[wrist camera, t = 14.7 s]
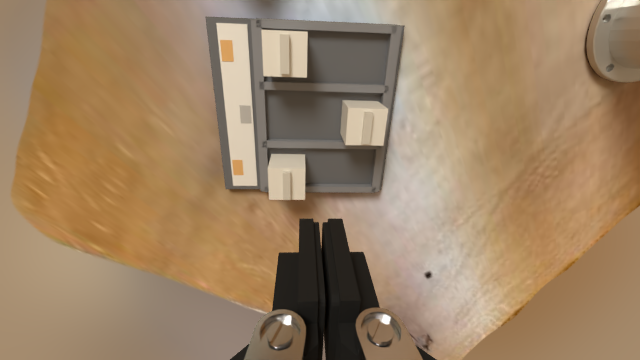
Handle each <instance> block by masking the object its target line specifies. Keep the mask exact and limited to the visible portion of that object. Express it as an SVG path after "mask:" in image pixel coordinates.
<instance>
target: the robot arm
mask: <svg viewBox="0 0 640 360" xmlns="http://www.w3.org/2000/svg"><path fill="white" fill-rule="evenodd" d="M586 47H587V57H588V60H589V63H590V65H591V67H592V68H593V70H594V71H595V72H596V73H597V74H598V75H599V76H600V77H602V78H604V79H606V80H609V81H615V82H624V83H631V82H637V81H640V0H601V2H600V4H599V5H598V7H597V9H596V11H595V13H594V16H593V18H592V20H591V23H590V27H589V31H588V35H587V45H586ZM323 336H324V341H325V353H326V360H436V359H435V358H433V357H432V356H430V355H429V354H427V353H426V352H425V351H423V350H422V349H420V348H419V347H417V346H416V345H415V344H414V342H413V340H412V338H411V336H410V334H409V332H408V330H407V328H406V327H405V325H404V323H403V322H402V320H401V319H400V318H399V317H398V316H397V315H396V314H394V313H393V312H391V311H389V310H387V309H383V308H380V307H379V303H378V300H377V296H376V293H375V290H374V286H373V283H372V279H371V276H370V272H369V269H368V266H367V262H366V259H365V255H364V253H363V252H350V251H349V246H348V242H347V238H346V233H345V229H344V224H343V220H342V219H328V222H323V227H322V248H321V242H320V231H319V222H313V219H300V224H299V253H279V256H278V265H277V274H276V282H275V291H274V300H273V308H272V311H271V312H269V313H267V314H266V315H264V316H263V317H262V318H261V319H260V320H259V321H258V323H257V325H256V327H255V329H254V332H253V335H252V338H251V341H250V344H248V345H247V346H246V347H245V348H244V349H242V350H241V351H240V352H239V353H237V354H236V355H235V356H234V357H233V358H232V359H230V360H322V351H323Z"/></svg>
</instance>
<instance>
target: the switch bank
mask: <svg viewBox="0 0 640 360" xmlns="http://www.w3.org/2000/svg"><path fill="white" fill-rule="evenodd" d="M206 25H207V34H208V42H209V51H210V59H211V68H212V76H213V85H214V93H215V102H216V111H217V119H218V128H219V136H220V145H221V153H222V162H223V170H224V179H225V187H226V189H261V191H265V192H269V187H268V165H269V161H270V158H271V154H305V192H359V193H375V192H379V190H381V187H382V180H383V173H384V166H385V159H386V152H387V145H388V138H389V131H390V124H391V117H392V110H393V103H394V96H395V89H396V82H397V75H398V68H399V61H400V54H401V47H402V40H403V33H404V26H400V25H391V24H369V23H347V22H325V21H304V20H282V19H260V18H256V19H247V18H225V17H206ZM261 30H281V31H304V32H308V41H307V78H304V77H273V76H263V55H262V33H261ZM342 100H356V101H378V102H380V103H381V104H382V105H384V106H385V107H386V108H388V115H387V122H386V130H385V137H384V144H383V146H373V145H345V143H344V141H343V138H342V136H341V134H340V129H341V115H342Z"/></svg>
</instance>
